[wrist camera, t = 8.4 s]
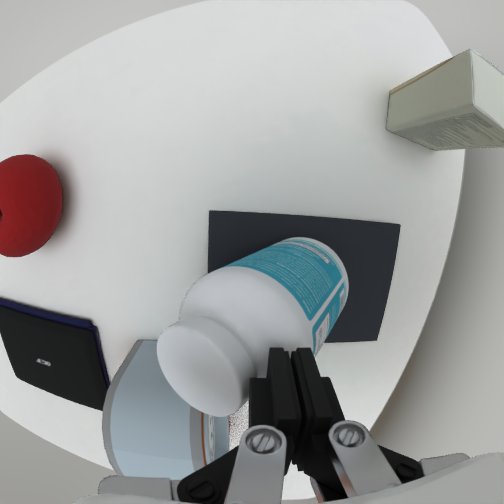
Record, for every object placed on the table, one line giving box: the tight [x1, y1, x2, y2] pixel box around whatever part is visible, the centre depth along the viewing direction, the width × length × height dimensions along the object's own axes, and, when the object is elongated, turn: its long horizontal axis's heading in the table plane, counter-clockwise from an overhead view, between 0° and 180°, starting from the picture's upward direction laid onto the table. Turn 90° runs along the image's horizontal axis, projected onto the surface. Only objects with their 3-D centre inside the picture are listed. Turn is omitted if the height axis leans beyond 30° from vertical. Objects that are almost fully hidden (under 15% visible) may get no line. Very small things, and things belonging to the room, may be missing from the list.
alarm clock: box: [102, 340, 230, 480], centre depth 21 cm, size 15×8×14 cm, turn 4°
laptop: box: [0, 299, 110, 411], centre depth 26 cm, size 16×20×2 cm
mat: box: [208, 211, 401, 343], centre depth 24 cm, size 17×12×1 cm
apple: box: [0, 154, 63, 257], centre depth 17 cm, size 9×9×10 cm
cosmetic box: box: [386, 49, 504, 151], centre depth 15 cm, size 6×4×12 cm
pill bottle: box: [157, 237, 349, 417], centre depth 16 cm, size 8×7×14 cm
